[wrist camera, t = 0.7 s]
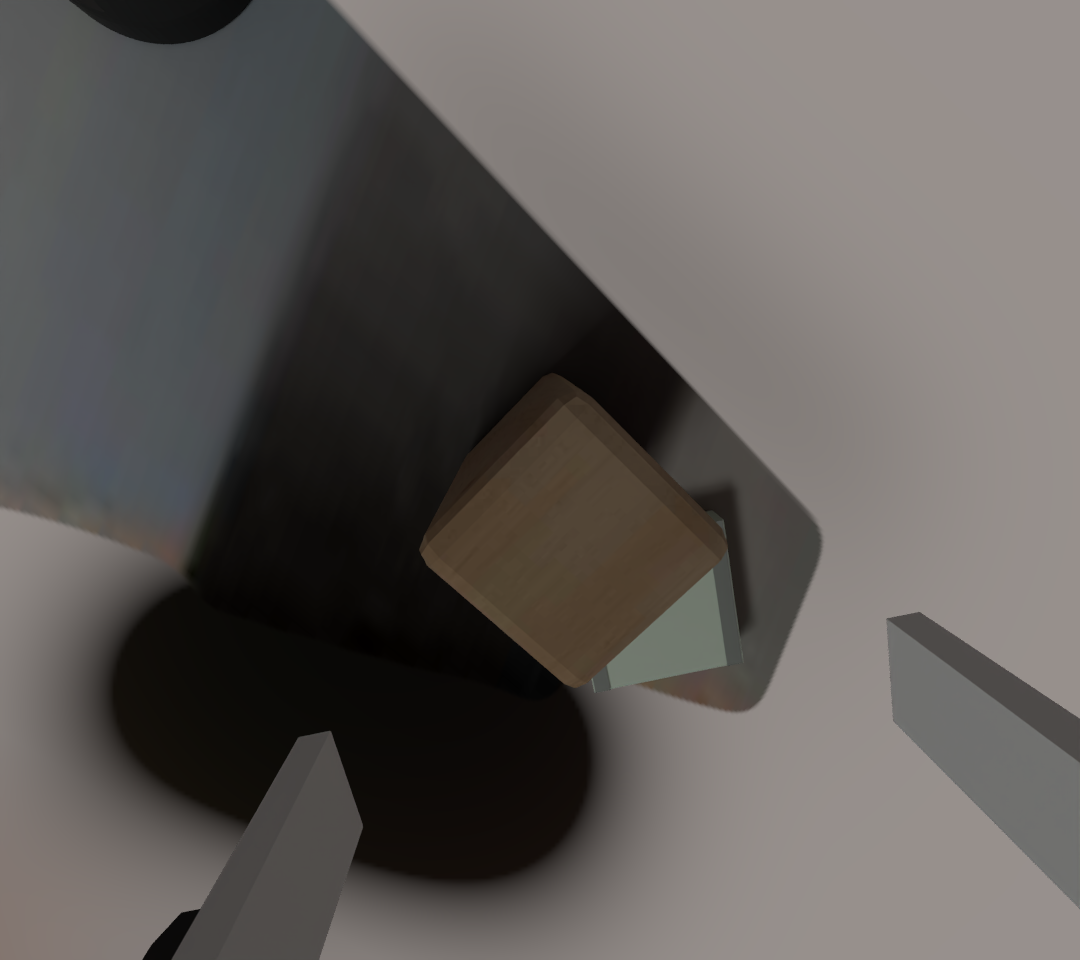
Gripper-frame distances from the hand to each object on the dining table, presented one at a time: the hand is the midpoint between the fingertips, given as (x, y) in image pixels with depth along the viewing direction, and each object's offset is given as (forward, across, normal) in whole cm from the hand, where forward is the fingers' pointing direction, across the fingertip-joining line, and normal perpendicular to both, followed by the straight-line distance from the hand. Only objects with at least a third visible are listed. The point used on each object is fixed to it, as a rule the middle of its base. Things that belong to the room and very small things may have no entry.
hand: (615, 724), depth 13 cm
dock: (+30, +6, -12) cm, 33 cm away
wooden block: (+31, 0, 0) cm, 31 cm away
